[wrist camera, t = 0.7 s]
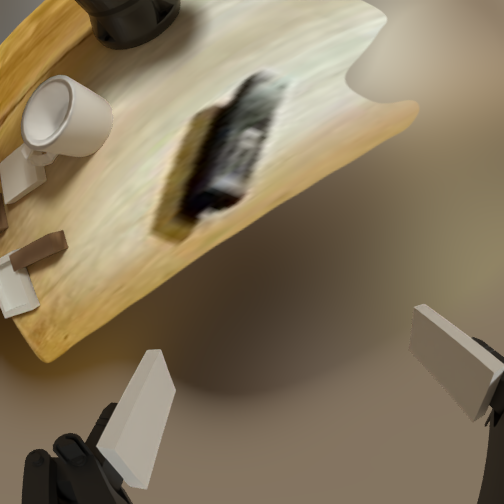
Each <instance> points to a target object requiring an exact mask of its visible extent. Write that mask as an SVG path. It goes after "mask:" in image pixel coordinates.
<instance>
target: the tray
mask: <svg viewBox="0 0 504 504" xmlns="http://www.w3.org/2000/svg"><path fill="white" fill-rule="evenodd" d="M18 250H19V249H17V250H14V251H11V252H10V253H8V254H6V255H5V256H3V257H1V258H0V307H1V310H2V312H3V314H4V317H5V318H8V317H11V316H14V315H18V314H21V313H24V312H27V311H31V310H33V309H35V308H36V307H38V306H40V303H39V301H38V298H37V296H36V293H35V291H34V288H33V285H32V283H31V280H30V277H29V274H28V271H27V268H26V267H24V268H22V269H19V270H17V271H15V272H14V271H13V268H12V265H11V261H10V258H9V255H11V254H12V253H14V252H16V251H18Z"/></svg>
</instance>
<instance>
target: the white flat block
mask: <svg viewBox="0 0 504 504" xmlns="http://www.w3.org/2000/svg"><path fill="white" fill-rule="evenodd" d="M24 145H25V143H23V144H22V145H21V146H20V147H18V148H17V149H16V150H15V151H13V152H12V153H11V154H10V155H9V156H8V157H6V158H5V159H4V160H3V161H2V162H1V163H0V175H1V182H2V189H3V195H4V201H5V204H11V203H15V202H16V201H18V200H19V199H21V198H22V197H23V196H25V195H26V194H28V193H29V192H31V191H32V190H34V189H35V188H37V187H38V186H40V185H41V184H43V183H44V182H46V181H47V178H46V173H45V168H44V166H42V167H39V166H31V164H30V163H29V162H28V161H27V160H26V159H25V157H24V155H23V153H22V152H21V150H22V149H23V147H24ZM32 155H42V151H36V150H34V152H33V154H32Z"/></svg>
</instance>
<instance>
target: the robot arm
mask: <svg viewBox="0 0 504 504" xmlns="http://www.w3.org/2000/svg"><path fill="white" fill-rule="evenodd" d="M75 1H76V2H77V3H78V4H79V5H80V6H81V7H82V8H83V9H84V10H85V11H86V12H87V13H88V14H89V17H90V21H91V25H92V29H93V32H94V35H95V37H96V38H97V39H98V40H99V41H100V42H101V43H102V44H103V45H104V46H106V47H108V48H111V49H127V48H132V47H135V46H138V45H141V44H143V43H146V42H148V41H150V40H151V39H153V38H155V37H156V36H158V35H159V34H161V33H162V32H163V31H164V30H166V29H167V28H168V27H169V26H170V25H171V24H172V22H173V21H174V20H175V18H176V17H177V15H178V13H179V10H180V0H75ZM409 351H410V352H411V353H412V354H413V355H414V356H415V357H416V358H417V359H418V361H419V362H420V363H421V364H422V365H423V366H424V367H425V368H426V369H427V370H428V371H429V372H430V374H431V375H432V376H433V377H434V378H435V379H436V380H437V381H438V382H439V384H440V385H441V386H442V387H443V388H444V389H445V391H446V392H447V393H448V394H449V395H450V396H451V397H452V399H453V400H454V401H455V402H456V403H457V404H458V406H459V407H460V408H461V409H462V410H463V411H464V413H465V414H466V415H467V416H468V417H469V418H470V420H471V421H472V422H474V421H476V420H477V419H479V418H480V417H482V416H483V415H485V413H486V411H487V408H488V406H489V405H490V406H491V407H492V408H493V409H492V411H491V413H490V415H489V417H488V419H487V421H486V423H485V426H487V424H488V422H489V421H490V430H489V441H488V450H487V458H486V464H485V470H484V476H483V481H482V486H481V490H480V494H479V498H478V502H477V504H504V357H503V356H501V355H500V354H499V353H497V352H496V351H494V349H492V348H491V347H489V346H488V345H487V344H486V343H485V342H483V341H482V340H480V339H477V338H474V337H472V338H470V337H469V336H468V335H466V334H465V333H464V332H462V331H461V330H460V329H458V328H457V327H456V326H454V325H453V324H451V323H450V322H449V321H448V320H446V319H445V318H444V317H442V316H441V315H439V314H438V313H437V312H435V311H434V310H433V309H431V308H430V307H428V306H427V305H426V304H422V305H419V306H415V307H414V308H413V319H412V328H411V337H410V344H409ZM175 392H176V390H175V387H174V385H173V382H172V379H171V377H170V374H169V371H168V368H167V366H166V363H165V360H164V357H163V355H162V351H161V349H159V350H147V351H146V354H145V355H144V357H143V359H142V360H141V362H140V364H139V366H138V368H137V369H136V371H135V373H134V375H133V377H132V378H131V380H130V382H129V384H128V386H127V388H126V390H125V391H124V393H123V395H122V397H121V399H120V401H119V403H110V404H109V405H108V406H107V407H106V408H105V409H104V410H103V411H102V414H101V415H100V417H99V419H98V420H97V422H96V425H95V426H94V428H93V429H92V432H91V433H90V435H89V437H88V439H87V441H86V442H85V443H84V442H83V440H82V439H81V437H80V436H78V435H77V434H73V433H68V434H64V435H62V436H60V437H59V438H58V439H57V440H56V441H55V443H54V444H53V451H54V452H55V453H56V454H57V456H58V457H57V458H55V457H51V456H50V455H49V454H48V452H47V451H45V450H43V449H36V450H33V451H32V452H30V453H29V454H28V455H27V457H26V460H25V467H24V476H23V489H22V504H133V503H132V502H131V500H130V498H129V497H128V495H127V493H126V492H125V490H124V489H123V488H122V487H121V484H122V482H123V480H124V481H125V482H126V483H127V484H128V485H129V486H130V487H136V488H143V489H147V487H148V483H149V480H150V476H151V472H152V469H153V465H154V462H155V458H156V455H157V451H158V448H159V445H160V441H161V438H162V434H163V431H164V428H165V424H166V421H167V418H168V414H169V411H170V408H171V405H172V401H173V398H174V395H175Z"/></svg>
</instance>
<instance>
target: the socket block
mask: <svg viewBox="0 0 504 504" xmlns="http://www.w3.org/2000/svg"><path fill="white" fill-rule="evenodd" d="M6 228H8V224H7V219H6V215H5V210H4V204H3V199H2V193H0V232H2V231H3V230H5V229H6Z"/></svg>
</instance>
